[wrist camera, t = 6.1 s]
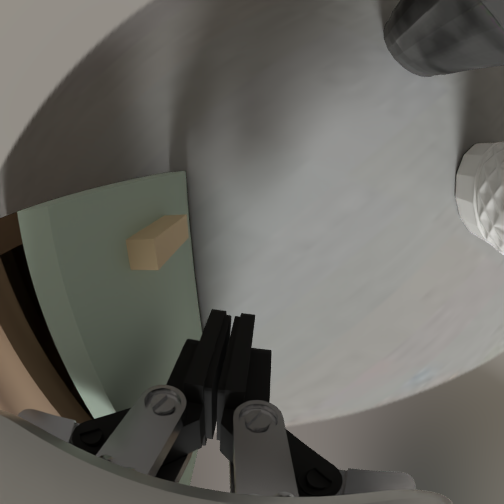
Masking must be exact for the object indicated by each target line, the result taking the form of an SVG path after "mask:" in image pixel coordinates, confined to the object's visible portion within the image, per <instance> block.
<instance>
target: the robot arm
mask: <svg viewBox="0 0 504 504" xmlns="http://www.w3.org/2000/svg"><path fill="white" fill-rule="evenodd" d="M254 321H255V315H252V314H243V313H241V316H240V317H238V316H235V319H234V323H233V327H232V331H231V335H230V329H231V316H230V315H226V311H221V310H213V309H212V310H211V313H210V315H209V318H208V320H207V323H206V325H205V328H204V331H203V333H202V336H201V338H200V341H199V340H193V339H187V340H186V342H185V344H184V346H183V348H182V350H181V352H180V355H179V357H178V359H177V361H176V364H175V366H174V368H173V370H172V372H171V375H170V377H169V379H168V382H167V384H166V385H156V386H152V387H150V388H148V389H146V390H145V391H144V392H143V393H142V394H141V396H140V397H139V398H138V399H137V401H136V402H135V403H134V405H133V406H132V407H131V408H128V409H125V410H122V411H119V412H115V413H112V414H109V415H106V416H102V417H99V418H95V419H92V420H88V421H85V422H83V423H80V424H79V423H76V421H75V420H72V419H68V418H64V417H60V416H56V415H52V414H49V413H45V412H42V411H38V410H35V409H25V410H23V411H21V412H20V413H19V414H18V415H17V416H16V415H14V414H12V413H9V412H6V411H3V410H0V504H453V503H452V501H451V500H449V499H448V498H447V497H445V496H443V495H441V494H438V493H434V492H429V491H422V490H416V486H415V482H414V480H413V478H412V477H411V476H410V475H408V474H407V473H403V472H386V471H370V470H358V469H348V470H347V471H345V470H338V469H337V468H336V467H335V466H334V465H333V464H331V463H330V462H328V461H327V460H326V459H324V458H323V457H321V456H320V455H319V454H317V453H316V452H315V451H313V450H312V449H311V448H309V447H308V446H307V445H305V444H304V443H303V442H301V441H300V440H299V439H298V438H296V437H295V436H294V435H293V434H291V433H290V432H289V431H288V430H286V429H285V424H284V419H283V415H282V413H281V411H280V410H279V409H278V408H277V407H276V406H275V405H273V404H271V403H269V399H270V376H271V350H265V349H256V348H251V346H252V338H253V330H254ZM216 422H217V440H220V451H221V452H222V454H223V455H224V456H225V457H226V458H227V459H228V460H229V474H230V493H228V492H221V491H215V490H209V489H204V488H198V487H193V486H189V485H184V484H180V483H179V481H180V479H181V477H182V475H183V473H184V471H185V469H186V467H187V465H188V463H189V461H190V459H191V457H192V453H193V451H195V450H198V449H200V448H201V447H202V445H206V441H207V438H209V439H213V435H214V431H215V426H216Z"/></svg>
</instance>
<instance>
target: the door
mask: <svg viewBox="0 0 504 504" xmlns="http://www.w3.org/2000/svg"><path fill="white" fill-rule="evenodd" d="M17 214H18V221H19V226H20V232H21V237H22V242H23V246H24V251H25V255H26V259H27V263H28V267H29V271H30V275H31V278H32V282H33V285H34V288H35V292H36V295H37V298H38V301H39V304H40V307H41V310H42V312H43V315H44V318H45V321H46V323H47V326H48V328H49V331H50V333H51V336H52V338H53V341H54V343H55V345H56V348H57V350H58V352H59V354H60V356H61V359H62V361H63V363H64V365H65V367H66V369H67V371H68V373H69V375H70V377H71V379H72V381H73V383H74V385H75V387H76V388H77V390H78V392H79V394H80V396H81V397H82V399H83V401H84V403H85V404H86V406H87V408H88V409H89V411H90V413H91V414H92V416H93V417H94V419H95V418H99V417H102V416H106V415H109V414H112V413H115V412H119V411H122V410H125V409H128V408H131V407H132V406H133V405H134V403H135V402H136V401H137V399H138V398H139V397H140V396H141V394H142V393H143V392H144V391H145V390H146V389H148V388H150V387H152V386H156V385H166V384H167V382H168V379H169V377H170V375H171V372H172V370H173V368H174V366H175V364H176V361H177V359H178V357H179V355H180V352H181V350H182V348H183V346H184V344H185V342H186V340H187V339H193V340H199V341H200V338H201V336H202V328H201V321H200V314H199V307H198V299H197V291H196V283H195V274H194V265H193V256H192V246H191V236H190V225H189V213H188V200H187V185H186V171H177V172H167V173H160V174H155V175H150V176H145V177H140V178H136V179H131V180H126V181H122V182H118V183H113V184H109V185H105V186H101V187H97V188H93V189H89V190H85V191H82V192H78V193H74V194H71V195H67V196H64V197H60V198H57V199H54V200H50V201H47V202H44V203H41V204H38V205H35V206H32V207H29V208H26V209H23V210H20V211H17ZM197 452H198V450H195V451H193V453H192V457H191V459H190V461H189V463H188V465H187V467H186V469H185V471H184V473H183V475H182V477H181V479H180V481H179V483H180V484H184V485H189V486H190V482H191V478H192V473H193V469H194V465H195V461H196V456H197Z"/></svg>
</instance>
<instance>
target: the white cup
mask: <svg viewBox="0 0 504 504" xmlns="http://www.w3.org/2000/svg"><path fill="white" fill-rule="evenodd" d="M455 198H456V202H457V206H458V211H459V215H460V218H461V220H462V221H463V223H464V224H465V226H466V227H467V229H468V230H469V232H470V233H472V234H474V235H475V236H477V237H479V238H481V239H482V240H484V241H486V242H487V243H489V244H491V245H492V246H493V247H494V248H495V249H496V250H497V251H498V252H500V253H501V254H503V255H504V141H503V142H491V143H476V144H475V145H473V146H472V147H471V148H470V149H469V150H468V151H467V152H466V153H465V154H464V156H463V158H462V161H461V164H460V166H459V169H458V171H457V175H456V193H455Z"/></svg>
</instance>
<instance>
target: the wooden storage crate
mask: <svg viewBox="0 0 504 504" xmlns="http://www.w3.org/2000/svg"><path fill="white" fill-rule="evenodd" d="M25 409H35V410H38V411H42V412H45V413H49V414H52V415H56V416H60V417H64V418H68V419H72V420H75V421H76V423H79V424H80V423H83V422H85V421H88V420H92V419H94V417H93V416H92V414H91V413H90V411H89V409H88V408H87V406H86V404H85V403H84V401H83V399H82V397H81V396H80V394H79V392H78V390H77V388H76V387H75V385H74V383H73V381H72V379H71V377H70V375H69V373H68V371H67V369H66V367H65V365H64V363H63V361H62V359H61V356H60V354H59V352H58V350H57V348H56V345H55V343H54V341H53V338H52V336H51V333H50V331H49V328H48V326H47V323H46V321H45V318H44V315H43V312H42V310H41V307H40V304H39V301H38V298H37V295H36V292H35V288H34V285H33V282H32V278H31V275H30V271H29V267H28V263H27V259H26V255H25V251H24V246H23V242H22V237H21V232H20V226H19V221H18V214H17V212H16V213H13V214H10V215H7V216H5V217H2V218H0V410H3V411H6V412H9V413H12V414H14V415H16V416H17V415H18V414H19V413H20V412H21V411H23V410H25Z"/></svg>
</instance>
